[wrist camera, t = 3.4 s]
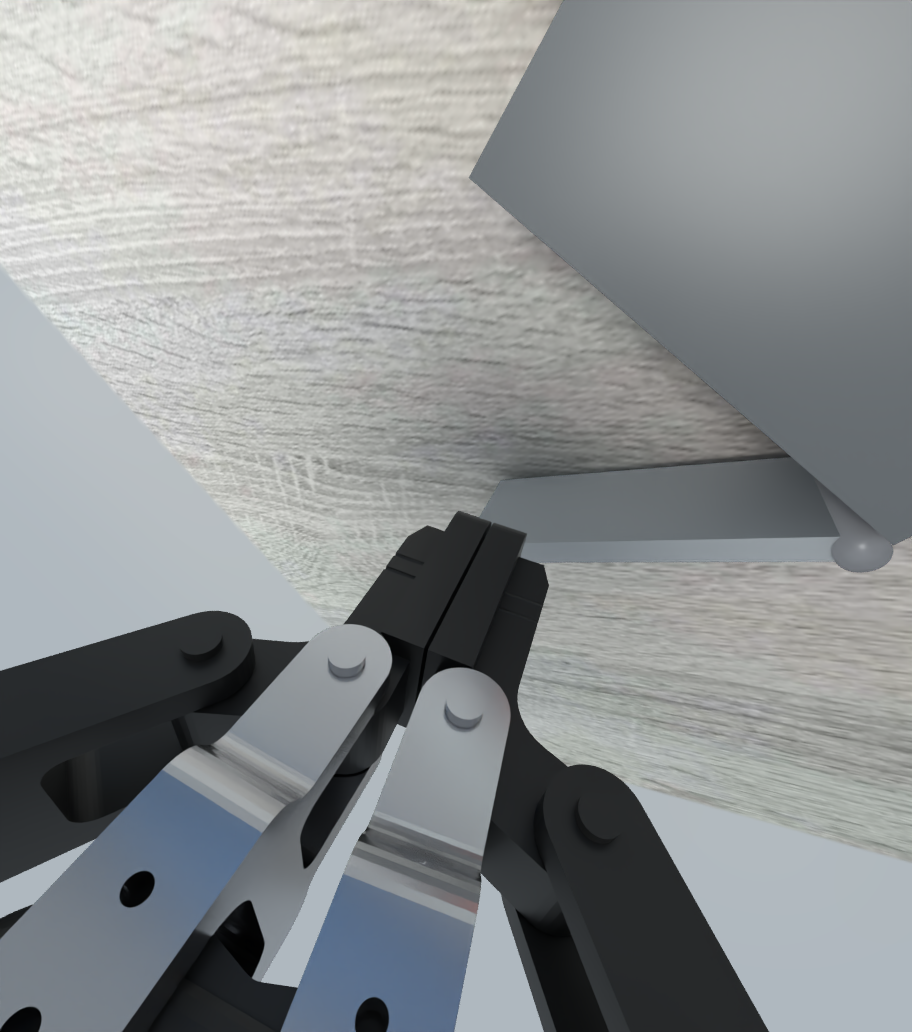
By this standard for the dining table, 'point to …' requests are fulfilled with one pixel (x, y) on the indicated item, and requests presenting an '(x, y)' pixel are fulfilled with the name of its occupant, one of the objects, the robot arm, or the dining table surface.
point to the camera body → (740, 208)
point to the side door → (688, 516)
